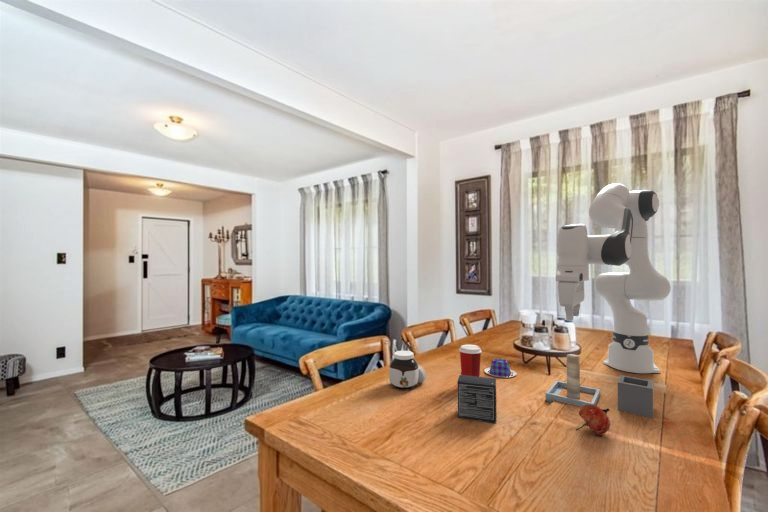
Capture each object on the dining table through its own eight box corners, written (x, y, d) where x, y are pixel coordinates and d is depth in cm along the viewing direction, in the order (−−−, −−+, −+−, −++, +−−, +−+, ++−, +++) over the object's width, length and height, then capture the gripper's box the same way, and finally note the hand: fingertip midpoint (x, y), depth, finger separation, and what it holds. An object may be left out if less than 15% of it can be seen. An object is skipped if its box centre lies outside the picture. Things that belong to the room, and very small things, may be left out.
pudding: (516, 370, 137) (516, 357, 137) (516, 381, 125) (516, 366, 125) (485, 367, 141) (485, 354, 141) (483, 377, 130) (482, 363, 130)
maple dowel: (568, 393, 111) (568, 353, 111) (580, 396, 109) (580, 355, 109) (565, 396, 108) (565, 356, 108) (578, 399, 106) (578, 358, 106)
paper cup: (479, 383, 122) (479, 344, 122) (483, 391, 115) (483, 350, 115) (457, 382, 123) (457, 343, 123) (460, 390, 115) (460, 349, 116)
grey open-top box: (620, 404, 105) (620, 374, 105) (653, 411, 100) (653, 380, 100) (617, 413, 99) (617, 382, 99) (653, 421, 94) (652, 388, 94)
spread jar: (386, 388, 118) (386, 354, 118) (397, 377, 128) (397, 346, 128) (420, 393, 113) (419, 358, 113) (428, 381, 124) (428, 349, 124)
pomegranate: (587, 448, 85) (624, 429, 82) (566, 420, 87) (602, 400, 84) (583, 437, 91) (617, 419, 89) (564, 411, 94) (597, 393, 91)
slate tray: (556, 387, 118) (556, 380, 118) (600, 397, 110) (600, 389, 110) (545, 400, 107) (545, 393, 107) (593, 412, 99) (593, 404, 99)
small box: (496, 413, 99) (496, 377, 99) (496, 424, 92) (496, 385, 92) (459, 408, 102) (459, 373, 102) (457, 418, 96) (457, 380, 96)
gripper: (568, 273, 119) (568, 312, 119) (554, 275, 103) (554, 321, 103) (589, 273, 115) (589, 314, 115) (577, 276, 99) (578, 324, 99)
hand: (572, 318), depth 109 cm, fingers open, 8 cm apart
